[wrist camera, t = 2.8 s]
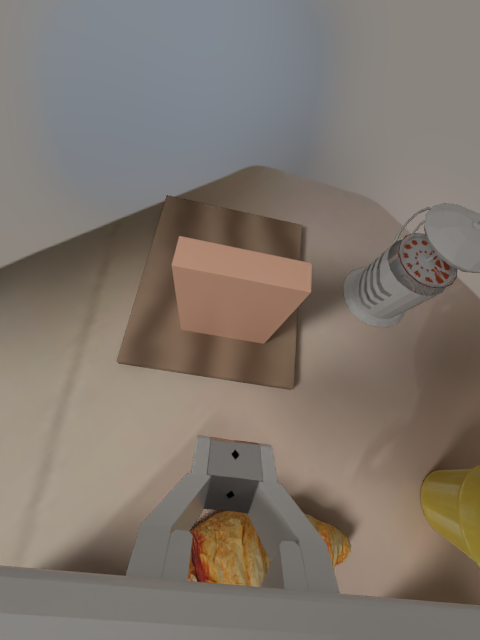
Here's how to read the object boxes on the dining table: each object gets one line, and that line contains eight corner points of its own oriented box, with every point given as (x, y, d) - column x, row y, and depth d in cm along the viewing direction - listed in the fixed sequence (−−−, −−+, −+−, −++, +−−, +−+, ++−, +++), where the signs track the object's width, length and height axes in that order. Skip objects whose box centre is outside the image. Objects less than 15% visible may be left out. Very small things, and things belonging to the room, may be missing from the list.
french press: (341, 319, 36) (597, 145, 13) (344, 250, 41) (540, 29, 18) (407, 335, 37) (756, 196, 14) (403, 265, 42) (664, 73, 18)
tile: (181, 329, 31) (171, 265, 18) (185, 309, 32) (179, 235, 19) (263, 343, 32) (310, 292, 19) (265, 324, 33) (311, 262, 20)
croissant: (317, 493, 32) (340, 468, 26) (364, 617, 24) (408, 616, 19) (128, 539, 27) (110, 519, 22) (116, 708, 20) (85, 740, 15)
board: (119, 363, 30) (116, 361, 29) (167, 201, 39) (166, 195, 37) (290, 389, 32) (293, 388, 31) (298, 230, 41) (301, 225, 40)
